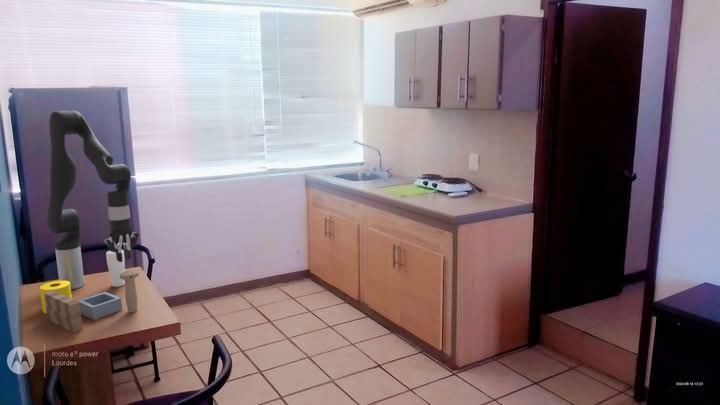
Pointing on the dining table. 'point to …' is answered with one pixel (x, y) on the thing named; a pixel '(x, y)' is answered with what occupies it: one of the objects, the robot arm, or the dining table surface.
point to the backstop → (63, 311)
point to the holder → (100, 305)
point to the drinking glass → (115, 268)
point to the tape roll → (56, 286)
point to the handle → (130, 289)
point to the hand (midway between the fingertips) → (123, 260)
